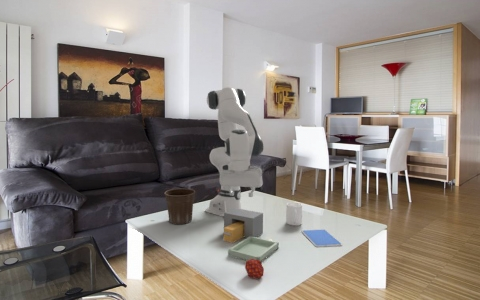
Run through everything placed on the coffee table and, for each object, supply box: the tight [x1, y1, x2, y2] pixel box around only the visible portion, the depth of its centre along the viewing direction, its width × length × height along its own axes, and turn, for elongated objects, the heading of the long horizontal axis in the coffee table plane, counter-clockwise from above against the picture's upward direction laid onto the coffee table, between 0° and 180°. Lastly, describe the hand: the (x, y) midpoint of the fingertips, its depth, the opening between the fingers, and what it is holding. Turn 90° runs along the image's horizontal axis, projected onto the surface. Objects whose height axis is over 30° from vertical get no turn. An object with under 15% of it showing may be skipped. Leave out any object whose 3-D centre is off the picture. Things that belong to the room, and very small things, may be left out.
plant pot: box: [164, 188, 196, 225], centre depth 173 cm, size 16×16×16 cm
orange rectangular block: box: [223, 221, 244, 244], centre depth 150 cm, size 5×13×6 cm, turn 145°
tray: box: [227, 236, 280, 263], centre depth 134 cm, size 14×18×2 cm
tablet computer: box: [301, 229, 343, 248], centre depth 150 cm, size 19×13×1 cm, turn 8°
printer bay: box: [223, 208, 264, 239], centre depth 156 cm, size 16×10×10 cm, turn 59°
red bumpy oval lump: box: [244, 259, 265, 279], centre depth 114 cm, size 6×7×8 cm
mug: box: [285, 201, 303, 227], centre depth 169 cm, size 12×8×10 cm
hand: (241, 196), depth 146 cm, fingers open, 8 cm apart
